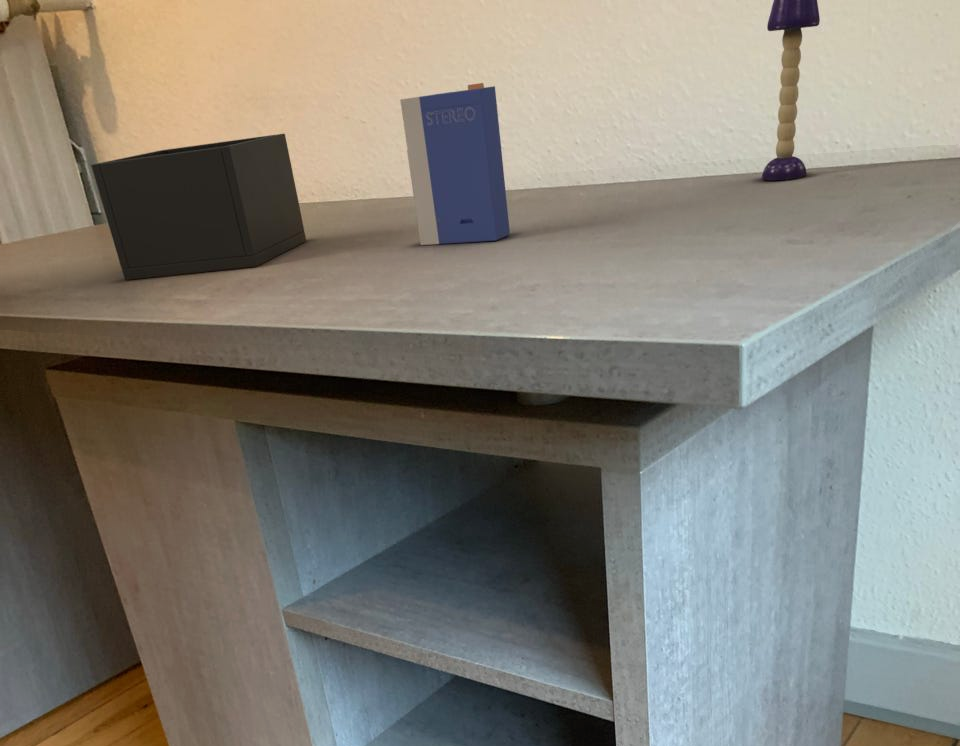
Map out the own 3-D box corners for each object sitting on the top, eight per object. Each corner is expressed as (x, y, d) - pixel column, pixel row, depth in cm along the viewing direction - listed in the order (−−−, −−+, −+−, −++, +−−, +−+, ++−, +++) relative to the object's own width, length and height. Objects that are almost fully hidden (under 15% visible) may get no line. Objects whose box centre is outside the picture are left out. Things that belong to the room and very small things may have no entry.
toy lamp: (802, 172, 99) (810, -25, 91) (820, 175, 95) (829, -30, 87) (756, 178, 99) (759, -18, 91) (771, 183, 95) (776, -23, 87)
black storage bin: (124, 280, 93) (90, 164, 88) (187, 254, 104) (160, 150, 99) (256, 266, 90) (228, 146, 85) (306, 241, 101) (285, 133, 96)
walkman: (510, 235, 87) (494, 81, 81) (496, 241, 85) (479, 83, 79) (434, 239, 91) (414, 92, 85) (419, 245, 89) (397, 95, 83)
